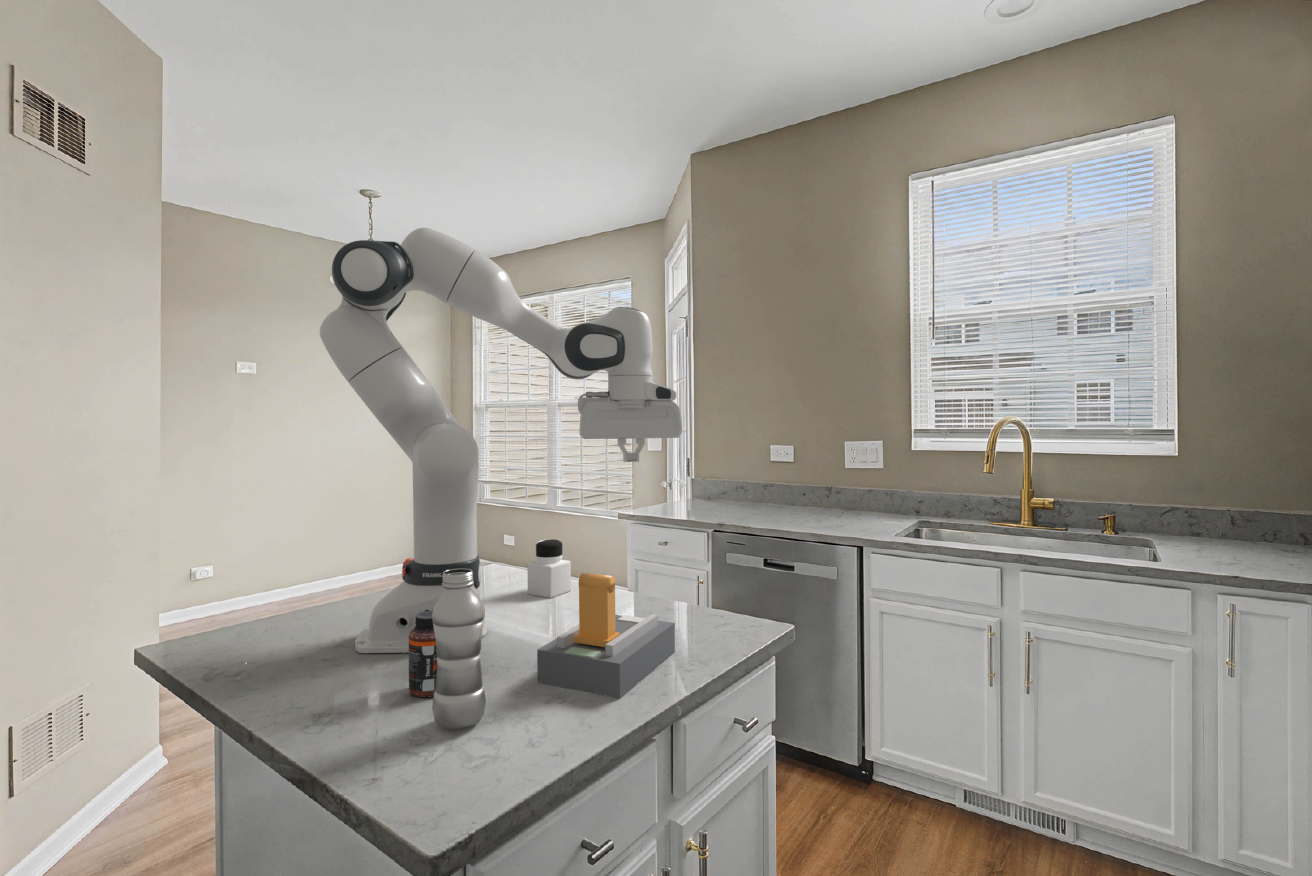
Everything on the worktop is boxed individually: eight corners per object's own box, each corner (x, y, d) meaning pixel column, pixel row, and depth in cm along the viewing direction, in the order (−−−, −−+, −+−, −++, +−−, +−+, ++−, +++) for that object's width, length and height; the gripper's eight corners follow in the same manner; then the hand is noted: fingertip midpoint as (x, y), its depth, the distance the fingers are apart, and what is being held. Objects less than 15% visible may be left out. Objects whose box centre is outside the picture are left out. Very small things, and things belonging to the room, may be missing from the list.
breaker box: (602, 640, 116) (602, 604, 116) (674, 652, 110) (674, 613, 110) (537, 682, 98) (537, 639, 97) (620, 698, 92) (619, 652, 92)
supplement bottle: (438, 700, 91) (437, 621, 91) (400, 697, 93) (399, 619, 92) (459, 683, 97) (458, 609, 97) (423, 680, 99) (422, 607, 98)
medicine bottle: (571, 591, 149) (571, 539, 149) (550, 598, 143) (550, 544, 143) (548, 587, 153) (547, 536, 153) (527, 594, 147) (526, 541, 147)
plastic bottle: (439, 714, 87) (436, 566, 87) (490, 711, 88) (488, 565, 87) (426, 737, 81) (423, 578, 80) (481, 735, 81) (479, 577, 81)
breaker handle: (587, 634, 103) (586, 569, 103) (620, 639, 101) (620, 573, 100) (573, 642, 99) (573, 575, 99) (608, 647, 97) (607, 579, 97)
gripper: (579, 390, 122) (580, 463, 123) (684, 391, 127) (684, 461, 127) (576, 392, 128) (576, 461, 129) (676, 392, 133) (676, 459, 133)
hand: (631, 461), depth 128 cm, fingers closed
